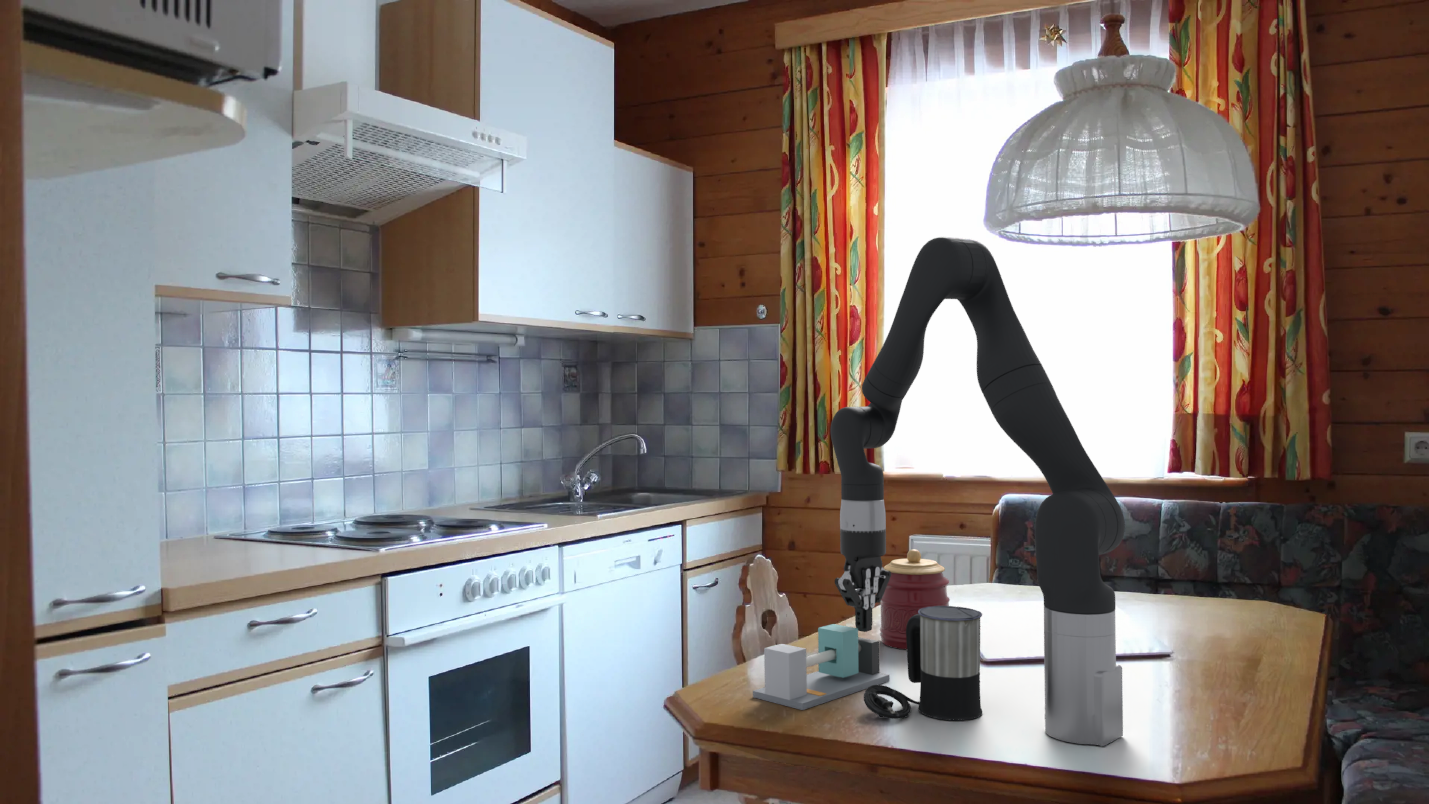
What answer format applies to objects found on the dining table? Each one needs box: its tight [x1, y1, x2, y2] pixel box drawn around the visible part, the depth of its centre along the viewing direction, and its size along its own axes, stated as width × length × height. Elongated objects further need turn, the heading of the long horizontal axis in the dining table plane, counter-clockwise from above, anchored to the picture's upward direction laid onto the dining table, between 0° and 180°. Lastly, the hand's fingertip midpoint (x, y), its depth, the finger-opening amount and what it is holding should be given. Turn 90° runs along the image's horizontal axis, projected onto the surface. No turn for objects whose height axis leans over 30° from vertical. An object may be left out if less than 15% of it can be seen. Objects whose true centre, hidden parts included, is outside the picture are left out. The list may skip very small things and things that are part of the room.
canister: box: [879, 548, 951, 650], centre depth 197 cm, size 13×13×18 cm
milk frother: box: [863, 605, 983, 722], centre depth 153 cm, size 14×16×15 cm
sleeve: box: [817, 623, 859, 678], centre depth 169 cm, size 5×4×7 cm
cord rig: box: [752, 636, 891, 711], centre depth 166 cm, size 10×22×8 cm, turn 135°
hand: (864, 630), depth 174 cm, fingers closed
